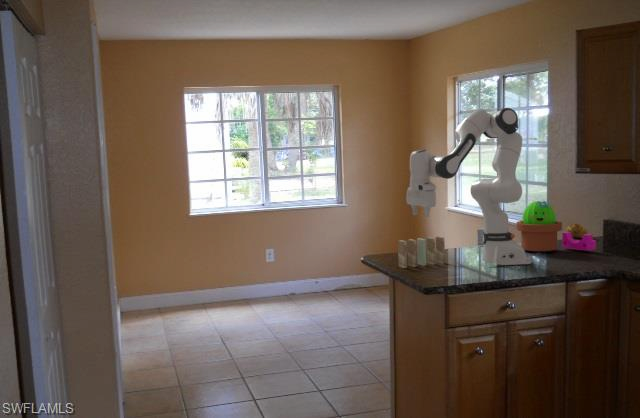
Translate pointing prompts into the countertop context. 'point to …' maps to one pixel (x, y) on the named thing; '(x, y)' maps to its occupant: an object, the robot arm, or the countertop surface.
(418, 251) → the sage domino
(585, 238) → the magenta tape dispenser
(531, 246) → the potted cactus
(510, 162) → the robot arm
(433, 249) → the domino
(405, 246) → the domino far end
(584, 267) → the countertop surface
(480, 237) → the medicine box
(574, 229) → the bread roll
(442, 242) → the domino
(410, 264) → the domino
